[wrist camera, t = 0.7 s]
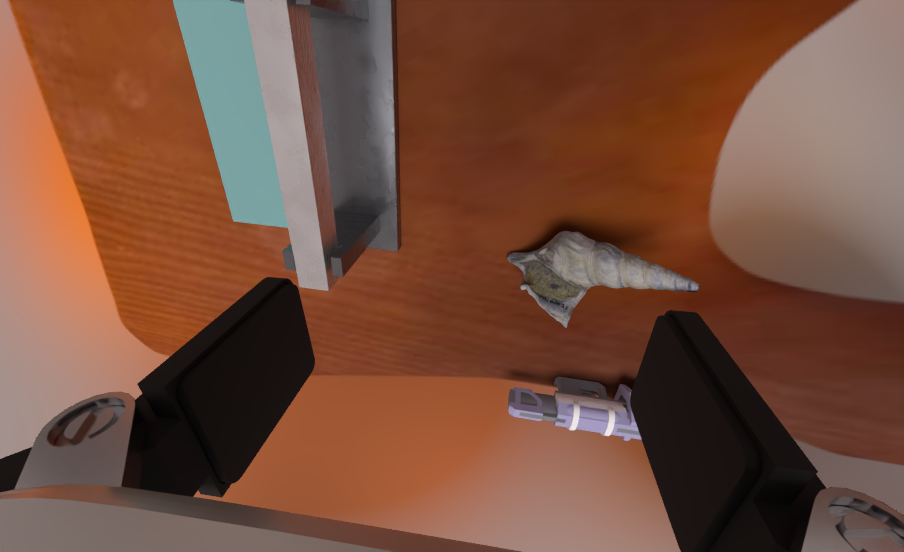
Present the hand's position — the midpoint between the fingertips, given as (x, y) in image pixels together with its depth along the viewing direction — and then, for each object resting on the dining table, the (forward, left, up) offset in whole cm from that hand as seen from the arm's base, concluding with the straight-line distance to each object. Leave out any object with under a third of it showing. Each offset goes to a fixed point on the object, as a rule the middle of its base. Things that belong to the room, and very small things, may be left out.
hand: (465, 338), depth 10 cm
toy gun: (+33, +19, -33) cm, 51 cm away
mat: (-1, -29, -33) cm, 44 cm away
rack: (+1, -16, -33) cm, 37 cm away
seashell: (+14, +11, -33) cm, 37 cm away
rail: (+1, -16, -23) cm, 28 cm away
